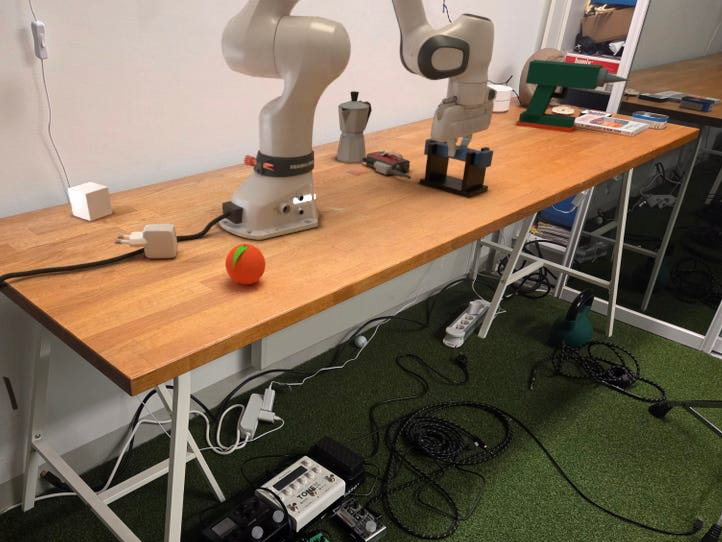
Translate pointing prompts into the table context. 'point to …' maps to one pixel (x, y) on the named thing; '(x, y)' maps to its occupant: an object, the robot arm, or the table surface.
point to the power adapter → (153, 240)
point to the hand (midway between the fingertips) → (457, 154)
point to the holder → (442, 181)
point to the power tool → (566, 77)
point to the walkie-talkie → (388, 163)
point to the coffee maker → (353, 129)
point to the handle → (462, 153)
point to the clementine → (245, 264)
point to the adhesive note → (90, 201)
